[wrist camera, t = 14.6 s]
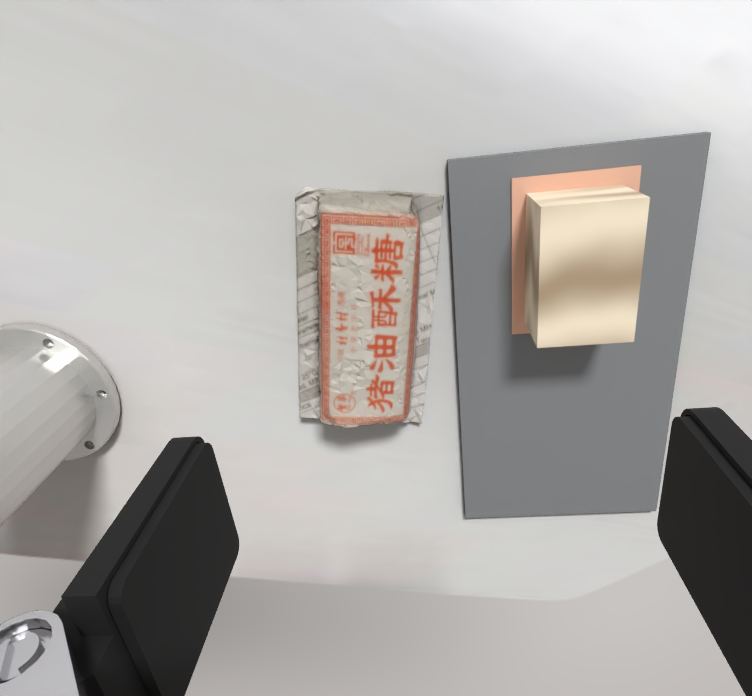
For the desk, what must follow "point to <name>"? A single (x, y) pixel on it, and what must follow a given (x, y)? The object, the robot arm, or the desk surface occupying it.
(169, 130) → the desk surface
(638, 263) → the birch tile
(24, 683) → the robot arm
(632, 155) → the mat
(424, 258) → the packaged product
